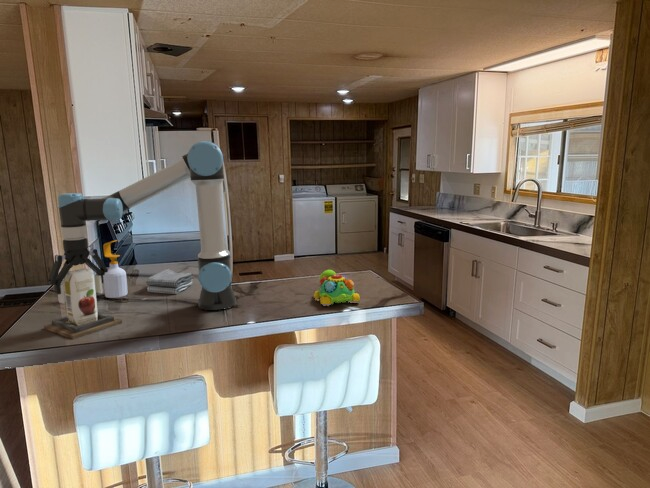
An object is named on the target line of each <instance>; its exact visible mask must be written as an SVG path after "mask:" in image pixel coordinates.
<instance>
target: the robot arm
mask: <svg viewBox="0 0 650 488" xmlns="http://www.w3.org/2000/svg"><path fill="white" fill-rule="evenodd" d="M224 174H225V172H224V155H223V152H222V149H220V147H219V146H218V145H217V144H216V143H214V142H212V141H208V140H202V141H197V142H196V143H194V144H193V145H192V146H191V147H190V148H189V151H188V152H187V153H186V154H184V155H182V156H181V158H180V160H177V161H176V162H174V163H172V164H169V166H166V167H164V168H162V169H160V170H158V171H155V172H154V173H152V174H150V175H148V176H145V177H144V178H142V179H140V180H138V181H136V182H133V183H132V184H129V185H128V186H126V187H124V188H122V189H120V190H118V191H116V192H113V193H111V194H110V195H107V196H106V197H102V198H84V195H83V194H82V193H80V192H70V193H69V192H68V193H61V194H59V195H58V196H57V201H58V202H57V203H58V204H57V205H58V207H57V208H58V211H59V213H58V214H59V220H60V229H61V236H62V239H63V240H62V246H63V252H64V253H63V254H55V255H54V263H53V265H52V268H51V270H50V273H49V276H48V278H47V284H49V285H53V287H54V288H53V289H54V293H55V295H57V299H58V303H60V304H66V299H65V290H64V283H62V282H64V278H65V276H66V274H67V273H68V271H71V269H72V268H73V267H74V266H78V265H84V264H85V265H86V266H87V267H88V268H90V270H93V273H95V275H94V280H95V290H96V293H98V294H103V293H104V290H103V284H104V280H103V275H105V272H108V269H109V268H107V267H106V264H105V263H104V262H103V260H102V258H101V257H100V255H99V253H98V249H95V248H90V249H89V243H88V242H89V241H88V238H87V236H88V234H87V233H88V232H87V224H86V221H87V222H90V221H110V222H111V221H115V220H121V219H122V218H123V215H124V212H126V211H128V210H130V209H132V208H133V207H135V206H138V205H140V204H142V203H144V202H146V201H147V200H150V199H152V198H154V197H156V196H158V195H159V194H161V193H164V192H165V191H168V190H169V189H172V188H173V187H176V186H178V185H180V184H182V183H184V182H186V181H188V180H190V182H191V183H193V184H194V186H195V193H196V205H197V216H198V227H199V237H200V238H199V239H200V250H201V251H200V252H199V253H198V254H197V264H198V265H197V266H198V275H197V280H198V282H199V284H200V286H201V290H200V293H199V298H198V303H197V306H199V307H198V309H200V308H201V309H200V310H202V309H206V310H205V311H207V310H217V309H224V308H228V307H231V306H233V305H235V304H236V305H237V298H236V296H235V293H234V289H233V287H232V279H233V275H232V274H233V273H232V266H231V252H230V250H228V249H226V242H225V229H224V218H223V217H224V215H223V205H222V202H223V201H222V191H221V183H223V181H224V180H225V175H224ZM89 256H91V258H92V259H93V261H94V262H93V261H92V260H91V259H90V258H89ZM63 261H65V262H64V263H63ZM62 264H63V266H62ZM236 305H235V306H236Z"/></svg>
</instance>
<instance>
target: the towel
mask: <svg viewBox="0 0 650 488" xmlns="http://www.w3.org/2000/svg"><path fill="white" fill-rule="evenodd" d="M193 282H194V273H193V272H189V273H188V272H176V271H174V270H172V269H169V268H165V269H163V270H161V271H160V272H158V273H155V274H153V275H151V276H149V277H148V279H147V280H146V285H147V287H146V291H147V292H148V293H153V294H154V293H155V294H165V295H166V294H167V295H179V294H180V293H181V292H183V291H185V290H186V289H188V288H189V287H191V286H192V285H193Z"/></svg>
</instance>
